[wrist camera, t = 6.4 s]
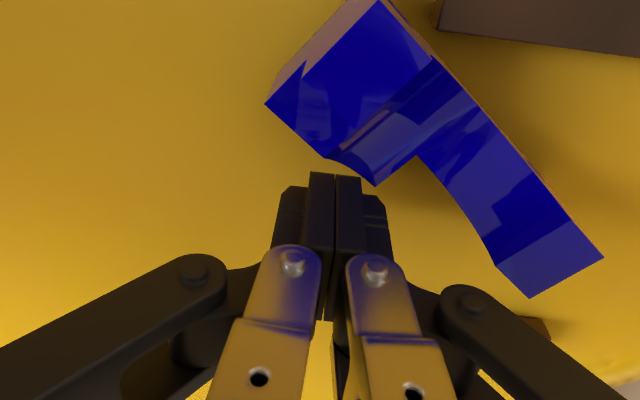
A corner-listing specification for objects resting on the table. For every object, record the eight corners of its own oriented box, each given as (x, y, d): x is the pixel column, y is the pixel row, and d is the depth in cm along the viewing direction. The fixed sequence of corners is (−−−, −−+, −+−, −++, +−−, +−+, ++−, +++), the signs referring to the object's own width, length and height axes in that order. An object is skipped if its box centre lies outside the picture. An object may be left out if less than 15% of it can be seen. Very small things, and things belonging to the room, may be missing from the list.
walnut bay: (358, 319, 18) (359, 339, 17) (442, -32, 11) (450, -29, 10) (530, 340, 18) (539, 361, 17) (717, 6, 11) (748, 13, 10)
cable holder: (277, 73, 13) (252, 128, 9) (369, -25, 11) (379, -2, 8) (450, 237, 15) (479, 326, 12) (541, 175, 14) (604, 257, 10)
